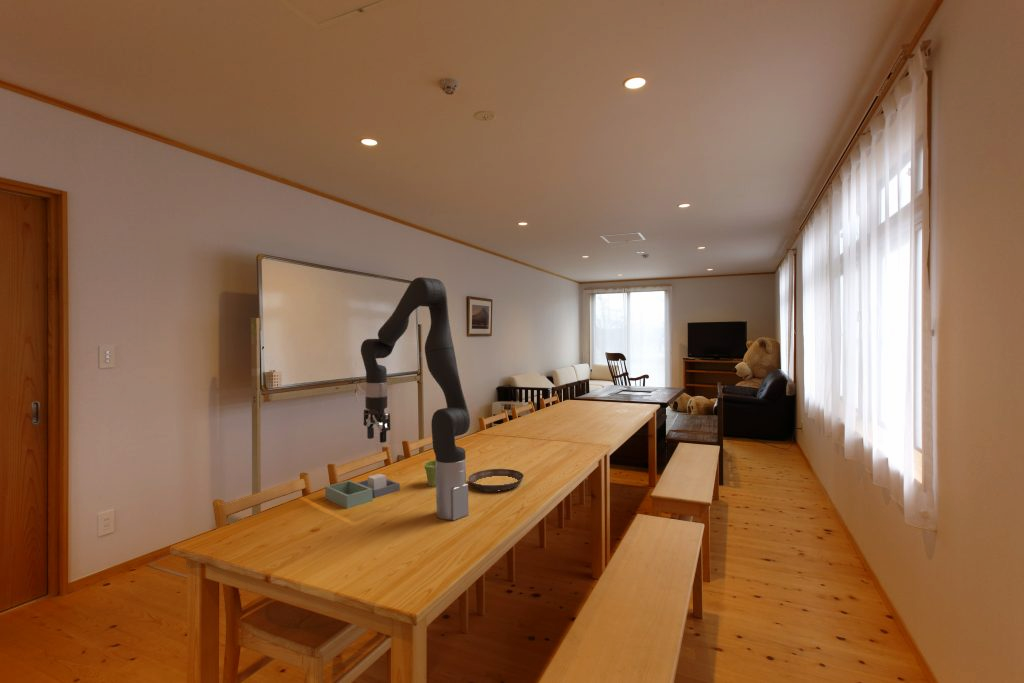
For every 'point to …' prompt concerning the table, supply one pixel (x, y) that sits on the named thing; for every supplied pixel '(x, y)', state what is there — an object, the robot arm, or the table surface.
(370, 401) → the robot arm
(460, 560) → the table surface
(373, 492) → the charcoal tub
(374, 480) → the pale pink block
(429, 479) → the plant pot
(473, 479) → the plant saucer
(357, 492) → the sage green bin
